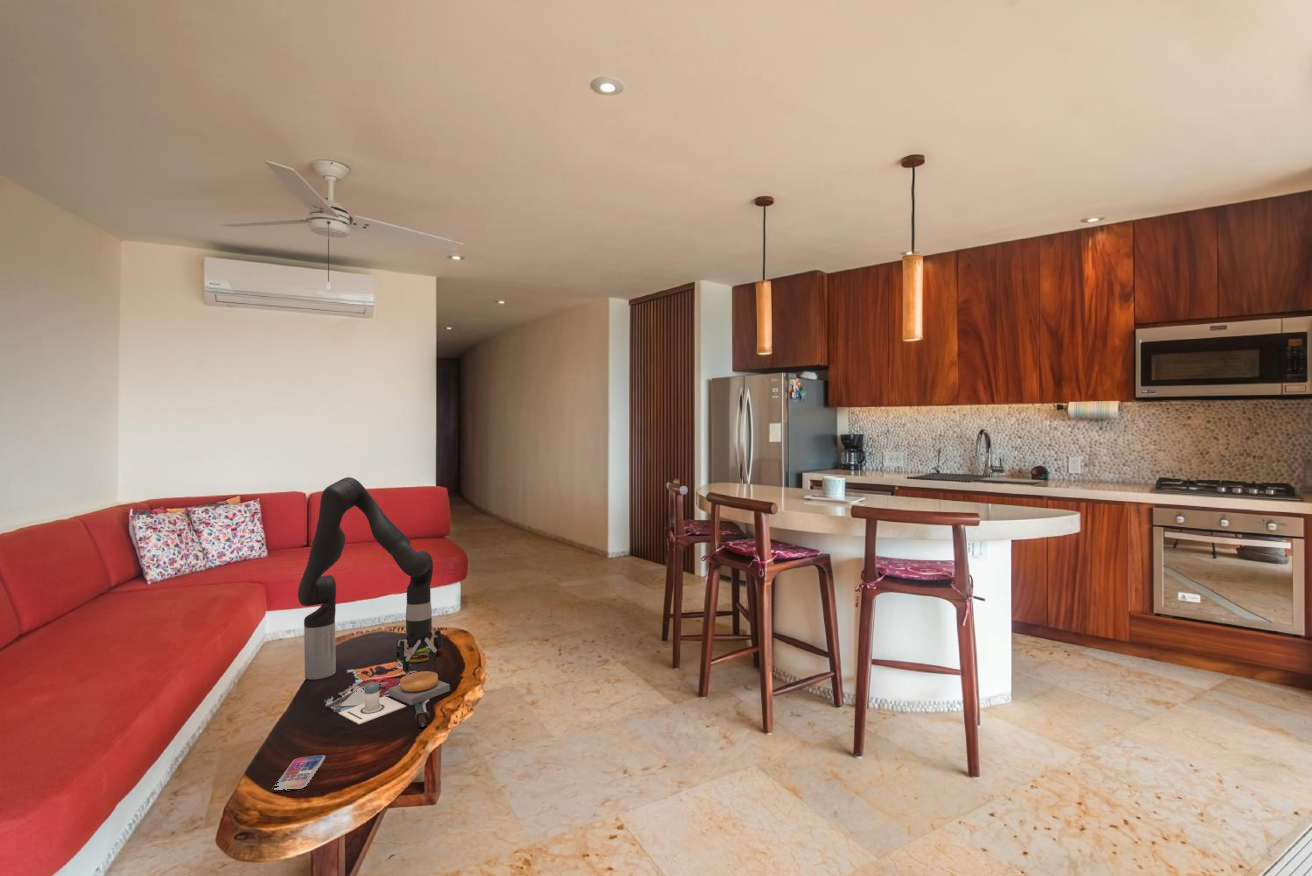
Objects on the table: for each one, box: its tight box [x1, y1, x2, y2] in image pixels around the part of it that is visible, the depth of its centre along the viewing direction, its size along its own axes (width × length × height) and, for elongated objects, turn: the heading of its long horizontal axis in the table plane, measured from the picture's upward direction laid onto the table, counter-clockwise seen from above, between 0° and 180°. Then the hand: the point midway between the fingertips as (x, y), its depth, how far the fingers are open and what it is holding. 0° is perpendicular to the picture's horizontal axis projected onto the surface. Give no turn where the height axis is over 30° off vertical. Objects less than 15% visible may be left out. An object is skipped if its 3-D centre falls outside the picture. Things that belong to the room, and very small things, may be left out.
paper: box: [337, 695, 407, 725], centre depth 180 cm, size 12×14×1 cm
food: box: [404, 637, 439, 663], centre depth 224 cm, size 14×14×8 cm
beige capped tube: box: [363, 681, 380, 711], centre depth 180 cm, size 4×4×7 cm
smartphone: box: [274, 754, 326, 791], centre depth 145 cm, size 7×1×15 cm
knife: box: [414, 699, 431, 728], centre depth 179 cm, size 26×2×5 cm
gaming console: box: [332, 681, 391, 713], centre depth 190 cm, size 22×1×10 cm
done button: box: [399, 670, 439, 692], centre depth 192 cm, size 11×11×2 cm
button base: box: [387, 679, 451, 706], centre depth 192 cm, size 13×13×2 cm
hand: (419, 668), depth 192 cm, fingers open, 8 cm apart
